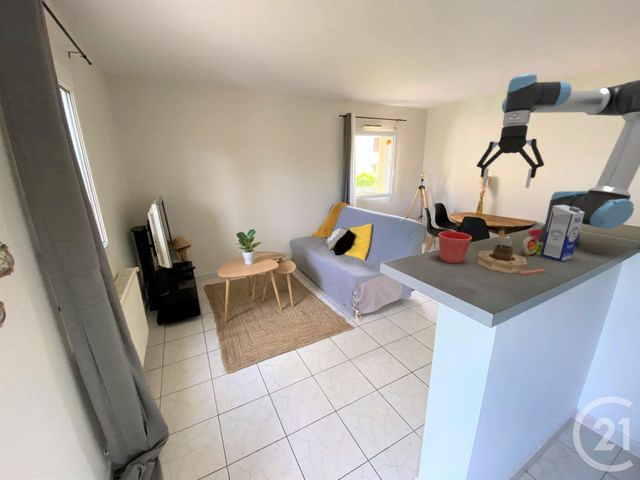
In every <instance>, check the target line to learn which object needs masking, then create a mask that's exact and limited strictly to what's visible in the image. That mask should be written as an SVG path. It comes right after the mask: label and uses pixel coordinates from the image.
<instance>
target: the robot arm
mask: <svg viewBox="0 0 640 480" xmlns="http://www.w3.org/2000/svg"><path fill="white" fill-rule="evenodd" d="M501 109H502V110H501V111H502V112H503V113H504V114H503V119H502V126H503V127H502V128H501V132H500V139H499V141H491V140H490V141H489V145H488V148H487V149H486V151H485V152H484V154H483V155H482V157H481V158H480V159H479V161H478V162H477V163H476V167H477V168H480V169H481V171H480V178H482V187H486V186H487V183H488V176H489V168H488V167H490V166H491V164H492V163H493V162H495V160H497V159H498V158H499V157H500V156H501V155H502V154H517V153H519V155H520V156H522V157H523V159H524V160H525V161H526V162H527V164H528V165H529V166H530V167H531V168H529V169H528V172H527V177H526V182H525V187H524V188H527V189H529V188H530V185H531V181H532V180H531V179H535V177H536V174H537V171H538V170H537V169H538V168H542V167H544V166H545V163H544V160H543V158H542V155H541V153H540V151H539V148H538V145H537V143H538V141H537V138H532V139H527V134H528V128H529V126H528V124H529V123H530V117H531V113H532V114H533V113H538V114H539V113H542V114H543V113H547V114H548V113H551V114H552V113H553V114H554V113H556V114H557V113H585V114H586V115H588V116H609V117H610V116H611V117H612V116H615V117H617V116H619V117H622V119H623V120H624V122H625V123H624V124H623V127H622V129H621V131H620V133H619V135H618V138H617V140H616V141H615V144H614V147H613V148H612V151H611V153H610V155H609V157H608V159H607V161H606V163H605V166H604V168H603V170H602V173H601V175H600V177H599V179H598V181H597V182H596V185H595V186H594V187H591V188H589V189H588V190H572V191H570V190H568V191H565V190H563V191H555V192H553V193H552V195H551V199H550V200H549V204H548V210H547V215H546V219H545V223H544V225H543V226H542V227H541V228H540V229H541V232H543V234H542V235H540V236H538V237H537V239H538V240H539V242H542V243H544V240H545V236H546V232H547V228H548V224H549V220H550V216H551V212H552V208H553V206H556V205H566V206H570V207H571V206H574V207H577V208H579V209H580V211H583V212H585V213H584V217H583V220H582V224H581V225H588V226H592V227H594V228H600V229H601V228H602V229H615V228H618V227H619V226H622V225H624V224H625V223H626V222H627V221H629V219H630V218H631V217H632V215H633V213H634V211H635V207H634V202H633V201H631V200H630V199H631V194H630V191H629V188H630V186H631V185H632V182H633V180H634V177H635V176H636V174H637V171H638V170H639V169H640V79H637V80H633V81H632V80H631V81H629V82H626V83H625V82H624V83H621V84H618V85H613V86H608V87H599V88H596V89H594V90H572V86H571V83H569V82H567V81H559V80H558V81H545V82H544V81H538V76H537V74H535V73H526V74H520V75H517V76H514V77H513V78H511V79H510V81H509V83H508V87H507V91H506V97H505V99H503V101H502V105H501ZM527 144H528V146H529V147H531V149H532V152H533V155H534V157H535V160H536V162H537V163H536V162H535V161H534V160H533V159H532V158H531V157H530V155H529V154H528V153H527V152H526V150H524V147H525V146H526V145H527ZM497 146H498V148H499V149H498V150H497V151H496V153H494V154H493V155H492V156H490V154H491V153H492V151H493V150H494V149H495V148H496V147H497ZM489 156H490V158H489ZM488 158H489V159H488ZM487 159H488V160H487ZM581 242H582V235H581V230H580V231H579V234H578V238H577V241H576V245H575V247H579V246H580V245H581Z"/></svg>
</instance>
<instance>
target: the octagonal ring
mask: <svg viewBox="0 0 640 480" xmlns="http://www.w3.org/2000/svg"><path fill="white" fill-rule="evenodd" d="M493 251H494V250H493V249H492V250H481V251H478V252H479V253H478V257H477V265H479V266H480V267H484V268H485V269H488V270H489V271H494V272H501V273H507V274H519V272H524V271H527V266H528V262H527V258H525V257H523V256H520V255H517V254H514V253H513V257H512V261H501V260H496V259H493V258H492V254H493Z"/></svg>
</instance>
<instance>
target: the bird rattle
mask: <svg viewBox="0 0 640 480" xmlns="http://www.w3.org/2000/svg"><path fill="white" fill-rule="evenodd" d="M541 229H542V228H535V229H534V228H533V229H528V230H527V233H528V234H529V236H527V237H526V238H525V239H524V240H523V242H522V244H521V246H522V247H521V248H522V251H523V252H524V255H525V256H530V255H533V254H536V255H537V256H541V253H542V249H543V244H544V243H540V241H539V240H538V239H537V237H538V236H540V235H542V234H543V232H541Z"/></svg>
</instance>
